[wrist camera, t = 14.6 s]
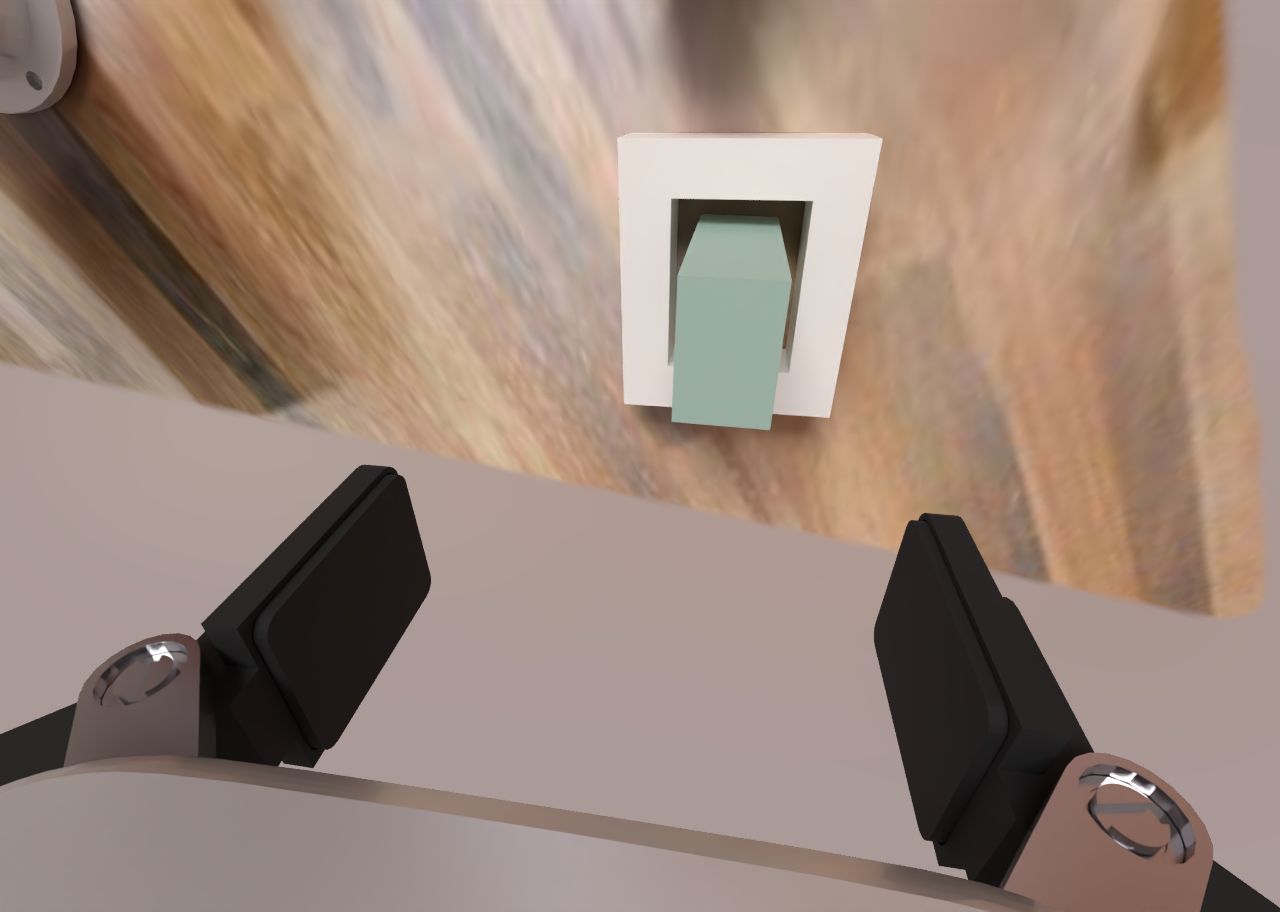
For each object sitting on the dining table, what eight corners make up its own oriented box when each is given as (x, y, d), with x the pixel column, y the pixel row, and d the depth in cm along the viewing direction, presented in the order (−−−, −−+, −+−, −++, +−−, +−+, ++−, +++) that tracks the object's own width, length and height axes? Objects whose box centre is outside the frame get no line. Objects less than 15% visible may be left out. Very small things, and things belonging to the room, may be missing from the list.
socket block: (634, 378, 36) (624, 403, 34) (630, 132, 29) (617, 137, 26) (822, 390, 35) (829, 417, 32) (868, 133, 28) (882, 138, 25)
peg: (695, 323, 34) (671, 422, 24) (701, 213, 31) (677, 274, 21) (764, 327, 33) (769, 430, 23) (778, 216, 30) (791, 280, 20)
